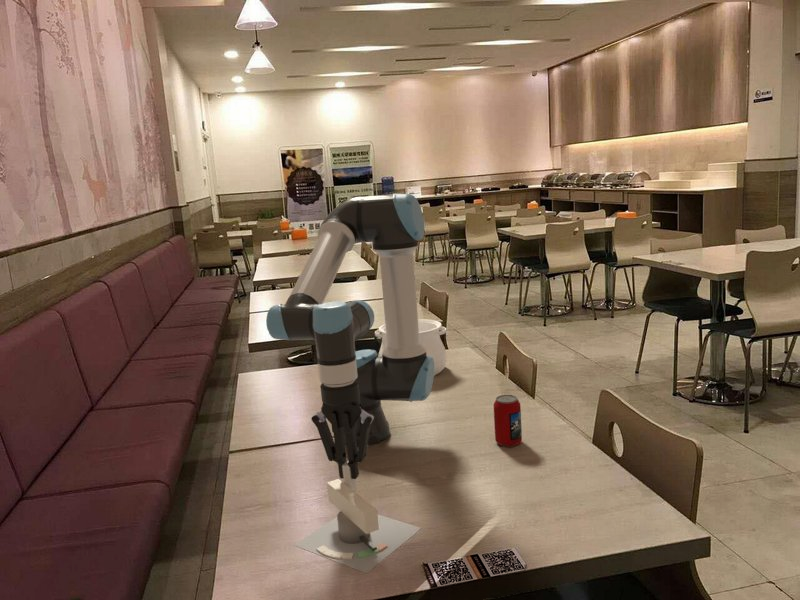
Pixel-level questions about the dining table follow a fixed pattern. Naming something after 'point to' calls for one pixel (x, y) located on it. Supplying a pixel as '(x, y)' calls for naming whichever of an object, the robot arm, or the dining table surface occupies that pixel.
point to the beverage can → (507, 420)
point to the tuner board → (359, 554)
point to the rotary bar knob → (353, 514)
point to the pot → (424, 341)
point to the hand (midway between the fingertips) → (351, 492)
